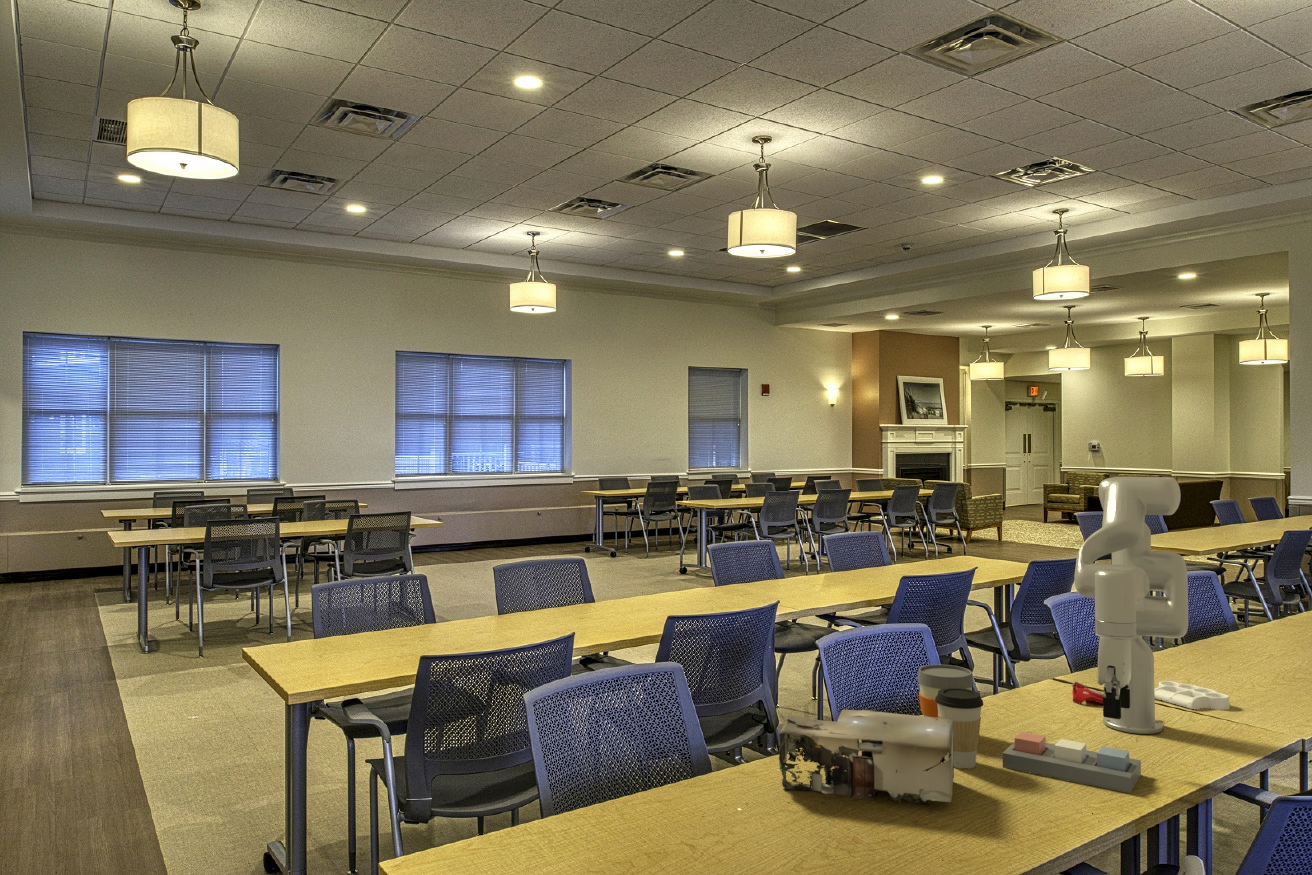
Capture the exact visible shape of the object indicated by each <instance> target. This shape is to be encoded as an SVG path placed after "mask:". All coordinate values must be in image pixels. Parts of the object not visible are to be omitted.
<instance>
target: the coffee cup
mask: <svg viewBox="0 0 1312 875" xmlns="http://www.w3.org/2000/svg"><path fill="white" fill-rule="evenodd" d="M935 702H936V703H937V705H938V718H945V719H949V720H952V721H953V722H954V741H953V766H954V767H955V768H954V769H960V768H968V769H973V768H975V767H976V762H977V753H978V752H977V751H978V748H979V741H980V740H979V739H980V729H981V720H982V719H981V718H982V716H981V714H982V713H981V711H982V707H983V706H984V701H983V699H982V697H981V694H980V692H978V691H976V690H973V689H971V690H969V689H964V688H944V689H940V690H939V691H938V694H937V696H936V698H935ZM948 755H949V752H948V753H947V755H946V756H945V755H944V756H945V759H946V760H945V761H944V762H946V761H949V760H950V759H951V756H950V758H949V756H948Z"/></svg>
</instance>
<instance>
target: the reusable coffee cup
mask: <svg viewBox="0 0 1312 875" xmlns="http://www.w3.org/2000/svg"><path fill="white" fill-rule="evenodd" d="M917 683H918V685H919V692H918V696H919V697H918V698H919V705H920V706H919V707H920V712H921V713H922V714H923V715H922V716H923V717H934V718H938V705H937V703H936V702H935V698H936V696H937V694H938V691H939V690H940V689H944V688H964V689H969V690H973V689H972V687H973V686H974V679H973V672H972V670H970V669H969V668H965V667H962V666H958V665H951V664H928V665H922V666H919V668H918V672H917Z"/></svg>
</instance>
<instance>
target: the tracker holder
mask: <svg viewBox="0 0 1312 875" xmlns="http://www.w3.org/2000/svg"><path fill="white" fill-rule="evenodd" d="M1071 687H1072V690H1071V691H1072V701H1073V702H1075V703H1076V702H1077V704H1078V703H1080V704H1079V705H1082V704H1083V703H1084V702H1085V701H1093V702H1095V703H1099V704H1102V705H1103V693H1101V692H1100V691H1098V690H1096V689H1092V688H1090V687H1087V685H1085V684H1083V683H1081V682H1078V681H1076V680H1075V681H1074V682H1073V683H1071Z"/></svg>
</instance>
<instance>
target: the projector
mask: <svg viewBox="0 0 1312 875" xmlns="http://www.w3.org/2000/svg"><path fill="white" fill-rule="evenodd" d="M778 734H779V735H778V737H779V738H778V748H779V752H778V754H779V755H778V760H779V761H778V763H779V771H780V772H781V776H782V780H781V781H782V782H781V785H782V787H783V789H782V791H784V790H785V791H787V792H788V791H789V792H790V791H807V792H817V793H821V794H822V795H829V794H834V795H840V796H841V795H843V796H850V798H853V799H861V800H869V801H870V800H871V801H875V795H876V792H877V791H879V792H884V793H888V794H889V796H888V798H889V800H890V802H894V803H902V800H905V801H906V802H907V803H909V804H913V803H915V804H923V803H924V804H927V805H930V806H931V805H932V804H930V803H929V802H927V801H931V802H944V803H951V802H952V796H953V787H954V778H955V777H954V776H955V775H954V774H955V772H954V771H955V768H954V766H953V741H954V722H953V721H952V720H949V719H945V718H934V717H924V715H922V716H921V715H913V714H903V713H902V714H901V713H894V712H893V713H892V712H885V711H884V712H883V711H875V709H862V710H858V709H857V710H855V709H842V710H841V711H840V713H839V715H838V719H837V720H836V721H834V720H833V721H832V720H819V719H814V718H813V719H812V718H807V717H802V716H798V715H796V716H795V715H788V716H787V717H786V721H785V723H784V724H783V726H782V728H781V730H780V731H779V733H778ZM792 736H793V737H794V738H793V737H792ZM798 737H799V738H798ZM792 739H793V741H792ZM789 743H790V744H793V748H789ZM794 748H795V749H794ZM859 752H861V755H859ZM948 752H949V755H948V756H949V758H950V756H951V759H950V760H949V761H946V762H945V760H946V759H945V756H946V755H947V753H948ZM944 755H945V756H944ZM787 757H788V759H787ZM800 757H801V758H802V759H801V758H800ZM787 761H789V762H796V761H799V763H788V762H787ZM802 761H803V762H804V763H807V762H808V763H815V764H816V769H814V771H810V770H807V769H806V770H805V769H804V771H805V772H807V773H808V776H807V780H806V781H807V782H808V783H804V781H803V782H802V781H798V779H801V778H802V776H801V777H800V775H797V774H803V771H802V770H799V769H800V768H799V767H796V766H799V764H800V763H802ZM795 767H796V768H797V769H798V770H796V771H795V770H794V771H792V770H793V769H795ZM822 769H823V771H824V774H825V775H824V777H825V779H823V778H824V777H823V774H821V770H822ZM787 773H790V774H791V778H794V779H792V780H791V781H789V780H787ZM824 780H825V781H824ZM823 782H824V783H823Z"/></svg>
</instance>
